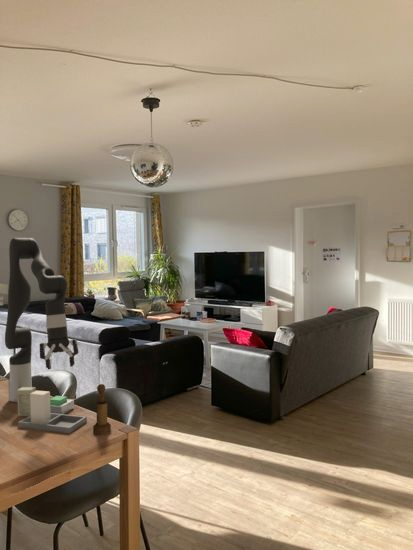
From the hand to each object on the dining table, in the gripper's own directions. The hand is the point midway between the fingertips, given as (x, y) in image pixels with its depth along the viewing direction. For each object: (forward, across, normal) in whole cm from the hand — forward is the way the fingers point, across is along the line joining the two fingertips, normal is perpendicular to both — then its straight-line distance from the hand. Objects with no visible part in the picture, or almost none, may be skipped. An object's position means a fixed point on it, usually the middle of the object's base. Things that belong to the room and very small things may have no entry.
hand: (60, 367), depth 178 cm
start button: (+17, +6, -14) cm, 23 cm away
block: (+20, +10, -1) cm, 23 cm away
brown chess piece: (+25, -15, +6) cm, 30 cm away
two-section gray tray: (+22, +5, +1) cm, 23 cm away
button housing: (+21, +6, -15) cm, 26 cm away
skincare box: (+20, +18, -12) cm, 30 cm away
